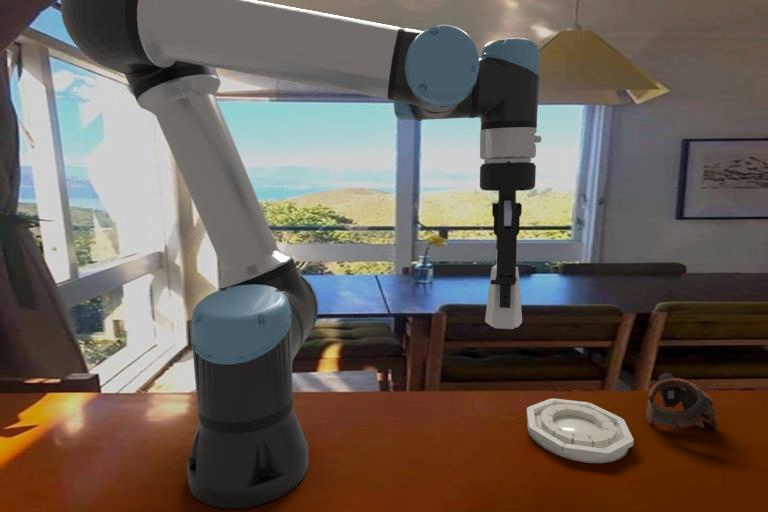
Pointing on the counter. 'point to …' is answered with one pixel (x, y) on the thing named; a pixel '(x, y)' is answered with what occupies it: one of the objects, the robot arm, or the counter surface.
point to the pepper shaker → (491, 299)
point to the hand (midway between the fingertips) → (503, 320)
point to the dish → (578, 431)
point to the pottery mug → (692, 403)
